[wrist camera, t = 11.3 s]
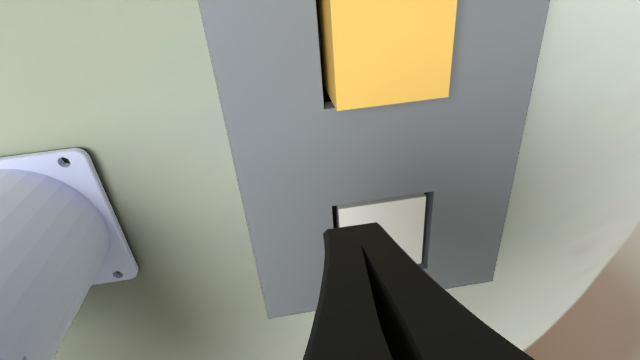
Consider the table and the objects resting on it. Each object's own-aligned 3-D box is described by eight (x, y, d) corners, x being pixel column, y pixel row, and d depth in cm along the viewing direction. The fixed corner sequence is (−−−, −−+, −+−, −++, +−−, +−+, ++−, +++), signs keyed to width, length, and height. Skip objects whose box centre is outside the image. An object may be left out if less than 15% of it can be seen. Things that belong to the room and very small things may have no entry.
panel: (266, 264, 23) (268, 318, 19) (111, -500, 10) (29, -758, 6) (458, 234, 24) (492, 280, 20) (555, -499, 11) (698, -722, 7)
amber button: (322, 83, 16) (337, 111, 13) (314, -24, 14) (329, -20, 11) (413, 72, 16) (448, 97, 13) (418, -34, 14) (460, -33, 11)
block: (331, 232, 22) (343, 275, 19) (326, 171, 20) (338, 209, 17) (399, 222, 22) (421, 263, 19) (401, 161, 20) (426, 196, 17)
